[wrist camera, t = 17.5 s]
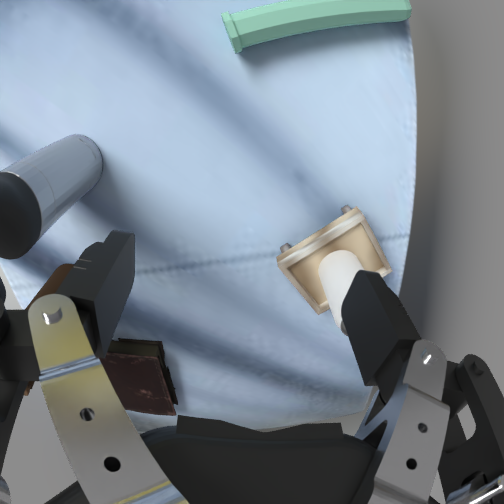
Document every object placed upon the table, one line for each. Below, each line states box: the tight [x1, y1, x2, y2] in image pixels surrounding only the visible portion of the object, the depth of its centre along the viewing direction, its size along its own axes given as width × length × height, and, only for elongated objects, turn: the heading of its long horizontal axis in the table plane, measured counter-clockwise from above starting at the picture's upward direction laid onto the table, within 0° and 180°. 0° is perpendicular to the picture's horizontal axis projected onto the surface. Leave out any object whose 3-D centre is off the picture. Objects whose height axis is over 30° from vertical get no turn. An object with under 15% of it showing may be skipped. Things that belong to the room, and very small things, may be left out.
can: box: [318, 250, 364, 336], centre depth 41 cm, size 6×6×12 cm
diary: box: [95, 338, 178, 416], centre depth 64 cm, size 19×25×5 cm
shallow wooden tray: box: [276, 205, 392, 315], centre depth 47 cm, size 14×12×6 cm
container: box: [221, 0, 412, 54], centre depth 29 cm, size 6×6×25 cm
